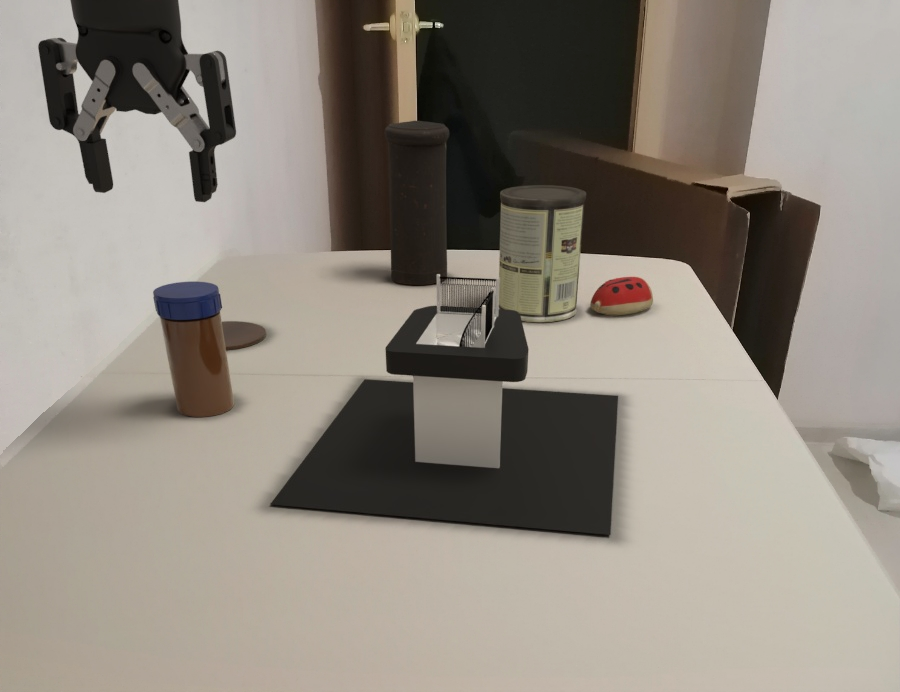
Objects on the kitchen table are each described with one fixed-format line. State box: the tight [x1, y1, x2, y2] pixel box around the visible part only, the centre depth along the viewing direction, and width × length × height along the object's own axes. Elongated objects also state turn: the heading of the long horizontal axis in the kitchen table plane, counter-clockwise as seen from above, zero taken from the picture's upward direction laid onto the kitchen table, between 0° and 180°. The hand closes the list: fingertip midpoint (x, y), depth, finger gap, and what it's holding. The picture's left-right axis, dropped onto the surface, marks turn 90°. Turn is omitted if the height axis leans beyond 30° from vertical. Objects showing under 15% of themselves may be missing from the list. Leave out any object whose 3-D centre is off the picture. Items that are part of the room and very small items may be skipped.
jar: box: [159, 311, 235, 418], centre depth 80 cm, size 5×5×11 cm
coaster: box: [222, 320, 267, 351], centre depth 100 cm, size 10×10×1 cm
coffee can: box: [498, 184, 587, 323], centre depth 105 cm, size 10×10×14 cm
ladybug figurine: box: [590, 276, 654, 316], centre depth 109 cm, size 7×10×4 cm
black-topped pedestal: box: [270, 274, 619, 536], centre depth 71 cm, size 28×26×13 cm
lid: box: [152, 281, 223, 320], centre depth 77 cm, size 6×6×2 cm
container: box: [384, 120, 450, 286], centre depth 117 cm, size 9×9×20 cm
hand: (153, 195), depth 70 cm, fingers open, 8 cm apart
